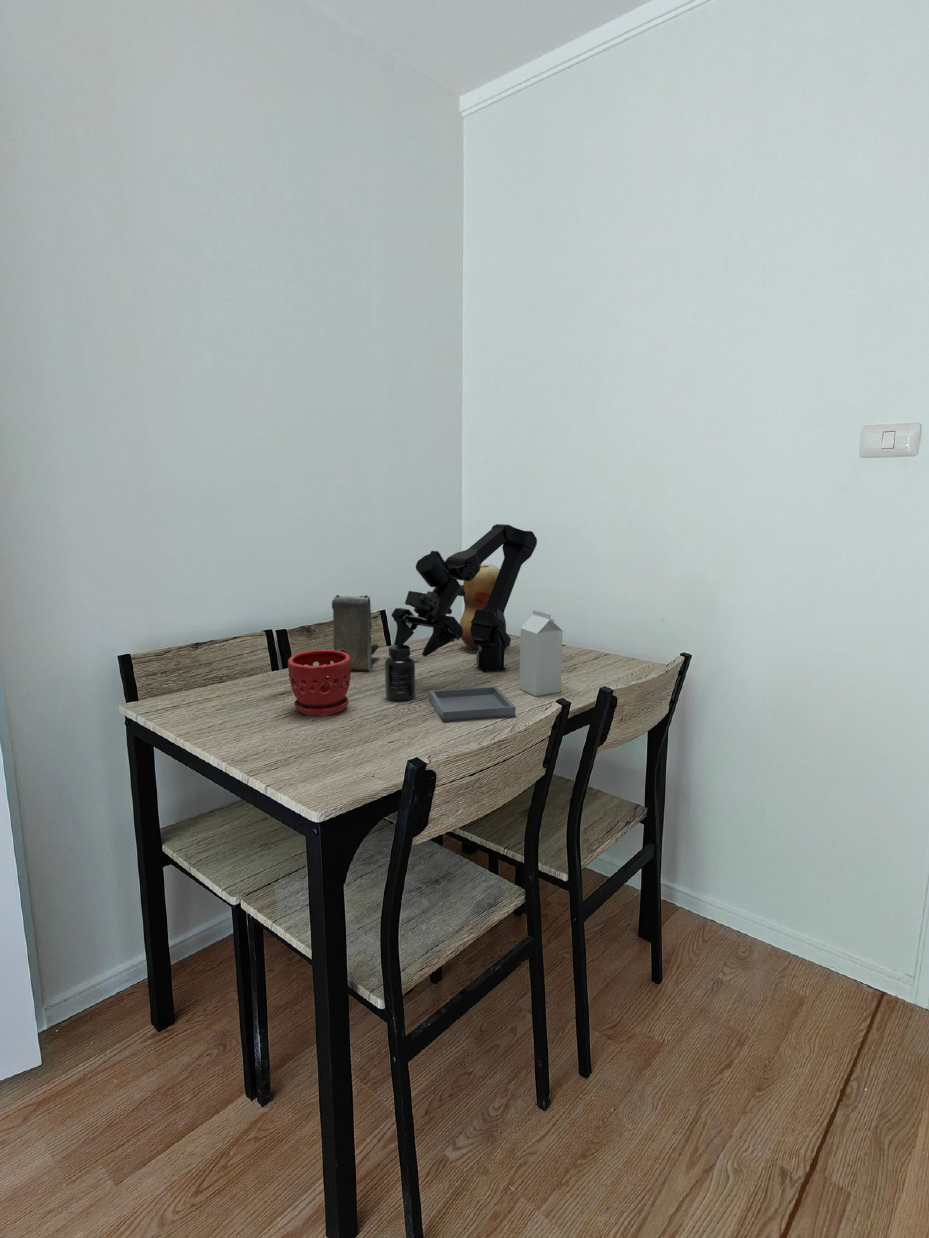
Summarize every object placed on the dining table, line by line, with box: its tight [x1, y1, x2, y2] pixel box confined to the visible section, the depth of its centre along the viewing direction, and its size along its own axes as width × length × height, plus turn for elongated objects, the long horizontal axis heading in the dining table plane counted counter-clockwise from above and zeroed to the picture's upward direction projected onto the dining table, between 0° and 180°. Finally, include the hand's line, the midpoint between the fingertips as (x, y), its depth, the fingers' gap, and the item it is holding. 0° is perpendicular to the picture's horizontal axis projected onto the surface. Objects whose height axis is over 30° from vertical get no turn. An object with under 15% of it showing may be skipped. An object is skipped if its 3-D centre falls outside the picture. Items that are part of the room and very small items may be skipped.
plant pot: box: [287, 649, 352, 717], centre depth 155 cm, size 13×13×12 cm
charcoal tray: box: [428, 685, 517, 723], centre depth 157 cm, size 16×16×2 cm
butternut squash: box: [459, 563, 507, 651], centre depth 208 cm, size 14×13×25 cm
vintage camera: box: [331, 594, 380, 672], centre depth 192 cm, size 10×16×20 cm, turn 174°
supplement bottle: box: [384, 644, 416, 703], centre depth 164 cm, size 7×7×12 cm
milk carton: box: [519, 609, 563, 697], centre depth 168 cm, size 7×7×19 cm
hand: (409, 652), depth 165 cm, fingers open, 9 cm apart
